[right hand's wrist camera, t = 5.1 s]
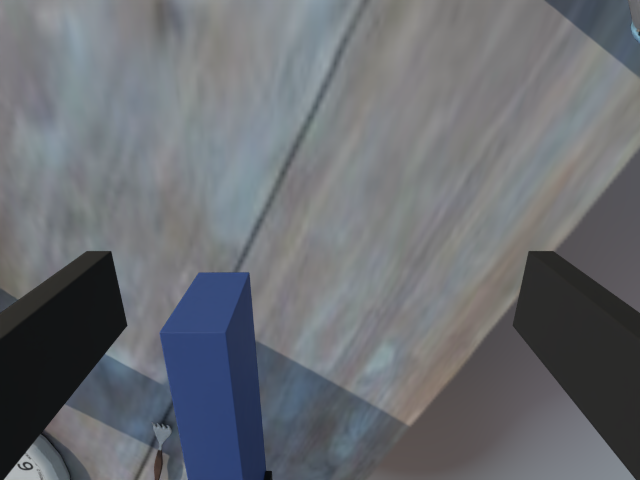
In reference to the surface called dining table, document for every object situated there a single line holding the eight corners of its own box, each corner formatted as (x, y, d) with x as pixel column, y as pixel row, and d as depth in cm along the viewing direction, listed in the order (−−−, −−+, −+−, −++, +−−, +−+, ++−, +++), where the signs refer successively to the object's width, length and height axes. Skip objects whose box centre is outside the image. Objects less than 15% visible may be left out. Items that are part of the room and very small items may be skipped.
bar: (198, 272, 35) (159, 332, 27) (249, 272, 35) (225, 332, 27) (229, 495, 46) (208, 587, 38) (268, 495, 46) (255, 587, 38)
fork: (148, 485, 61) (143, 498, 59) (155, 411, 55) (149, 422, 54) (165, 488, 62) (160, 501, 60) (173, 414, 56) (168, 425, 54)
